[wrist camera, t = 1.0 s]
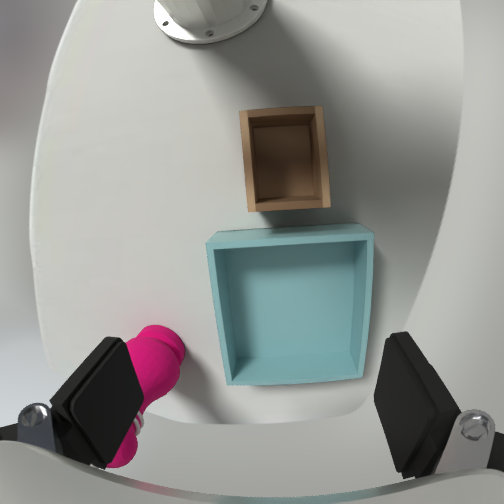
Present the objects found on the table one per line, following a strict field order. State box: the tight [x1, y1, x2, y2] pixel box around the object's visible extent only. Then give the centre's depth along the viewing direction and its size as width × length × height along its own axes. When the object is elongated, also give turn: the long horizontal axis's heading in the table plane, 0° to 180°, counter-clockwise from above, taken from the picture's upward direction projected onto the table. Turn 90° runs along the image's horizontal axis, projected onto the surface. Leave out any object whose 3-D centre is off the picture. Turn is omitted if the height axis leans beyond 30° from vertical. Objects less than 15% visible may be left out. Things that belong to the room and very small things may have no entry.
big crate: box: [206, 223, 374, 385], centre depth 28 cm, size 15×14×5 cm
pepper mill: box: [90, 325, 185, 469], centre depth 24 cm, size 7×7×20 cm
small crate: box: [239, 106, 331, 212], centre depth 24 cm, size 8×6×6 cm
